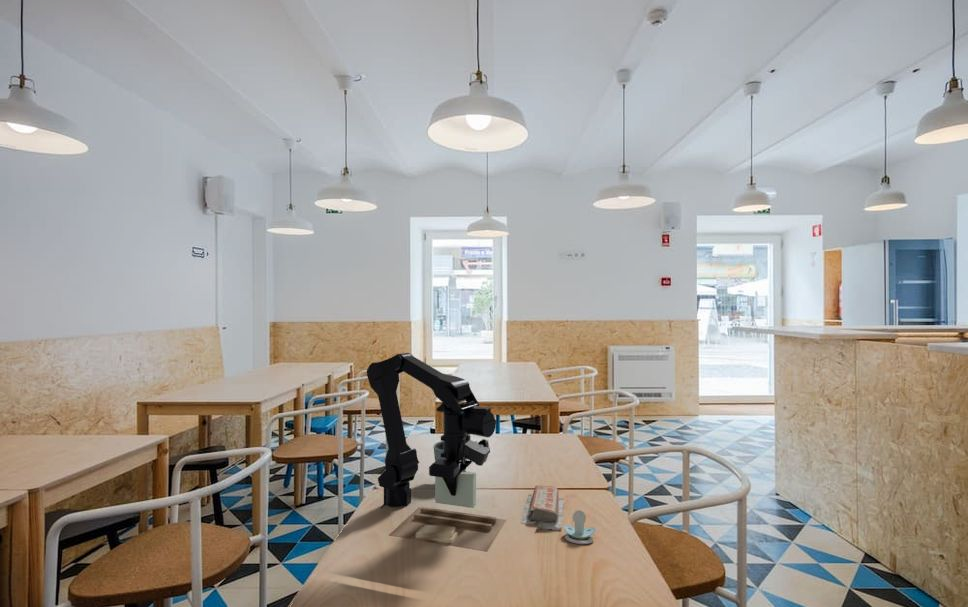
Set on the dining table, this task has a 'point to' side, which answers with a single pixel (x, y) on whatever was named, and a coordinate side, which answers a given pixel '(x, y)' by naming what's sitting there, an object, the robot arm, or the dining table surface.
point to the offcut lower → (436, 537)
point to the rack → (470, 527)
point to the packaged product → (544, 508)
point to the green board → (463, 494)
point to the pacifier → (579, 529)
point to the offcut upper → (438, 531)
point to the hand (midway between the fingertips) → (455, 493)
